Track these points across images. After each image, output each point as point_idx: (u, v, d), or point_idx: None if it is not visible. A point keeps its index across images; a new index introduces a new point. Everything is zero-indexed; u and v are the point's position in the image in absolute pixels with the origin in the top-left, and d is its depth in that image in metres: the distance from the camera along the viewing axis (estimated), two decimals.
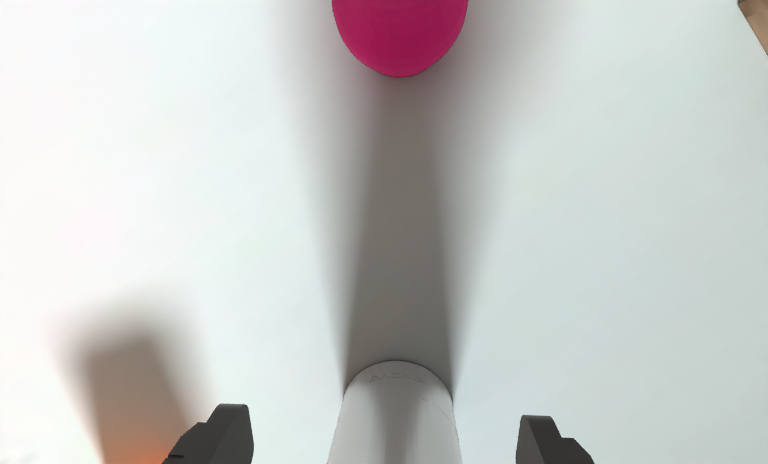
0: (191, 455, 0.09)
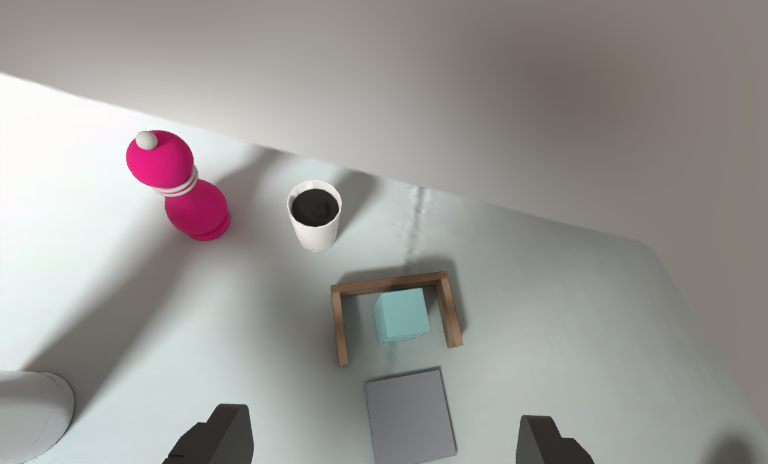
0: (191, 455, 0.09)
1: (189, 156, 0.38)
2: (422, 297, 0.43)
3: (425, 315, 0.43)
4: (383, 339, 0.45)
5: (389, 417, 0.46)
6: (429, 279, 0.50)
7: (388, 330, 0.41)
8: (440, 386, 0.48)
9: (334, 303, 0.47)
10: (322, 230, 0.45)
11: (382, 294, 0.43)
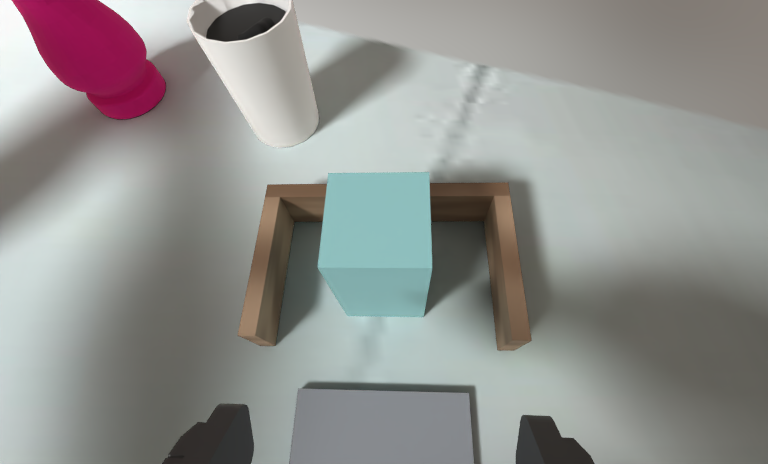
0: (191, 455, 0.09)
1: None
2: (426, 192, 0.17)
3: (427, 232, 0.16)
4: (332, 290, 0.19)
5: None
6: (468, 194, 0.24)
7: (322, 253, 0.16)
8: (466, 433, 0.20)
9: (264, 215, 0.24)
10: (247, 59, 0.23)
11: (330, 175, 0.18)
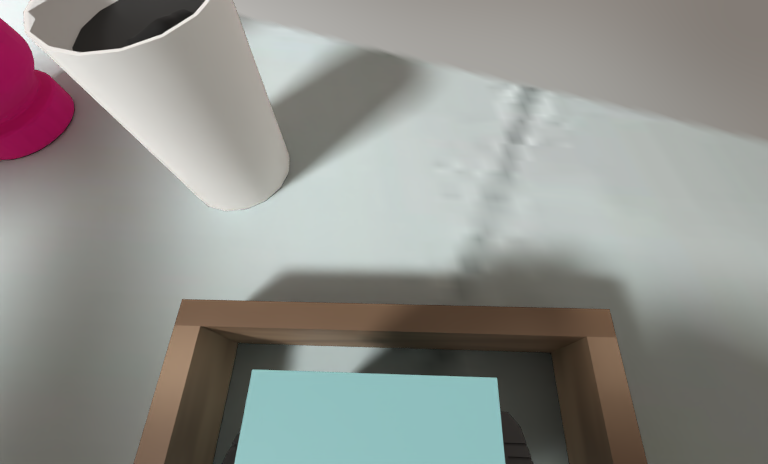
0: None
1: None
2: (494, 443, 0.07)
3: None
4: None
5: None
6: (538, 332, 0.13)
7: None
8: None
9: (167, 365, 0.13)
10: (133, 84, 0.12)
11: (257, 377, 0.07)
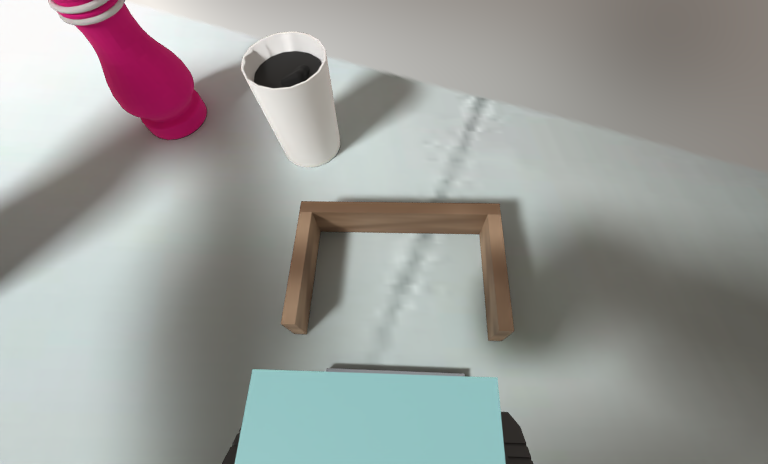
0: None
1: None
2: (495, 443, 0.07)
3: None
4: None
5: None
6: (466, 213, 0.29)
7: None
8: None
9: (299, 227, 0.29)
10: (289, 101, 0.28)
11: (257, 377, 0.08)
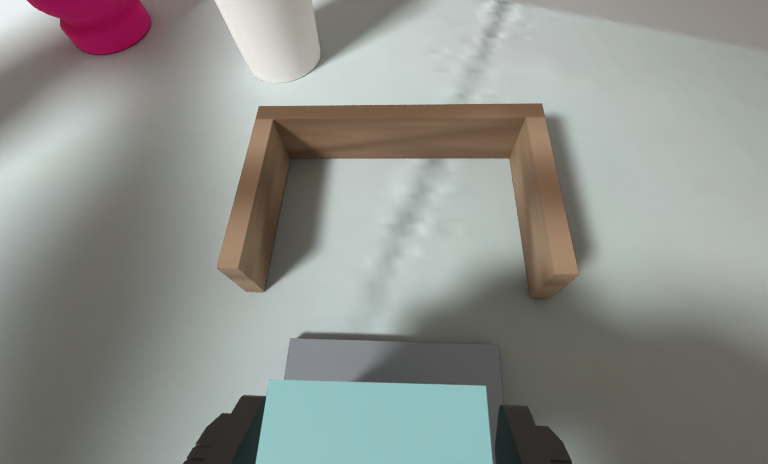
0: (219, 443, 0.09)
1: None
2: (483, 444, 0.08)
3: None
4: None
5: None
6: (495, 116, 0.20)
7: None
8: (496, 391, 0.16)
9: (253, 138, 0.20)
10: None
11: (274, 386, 0.08)
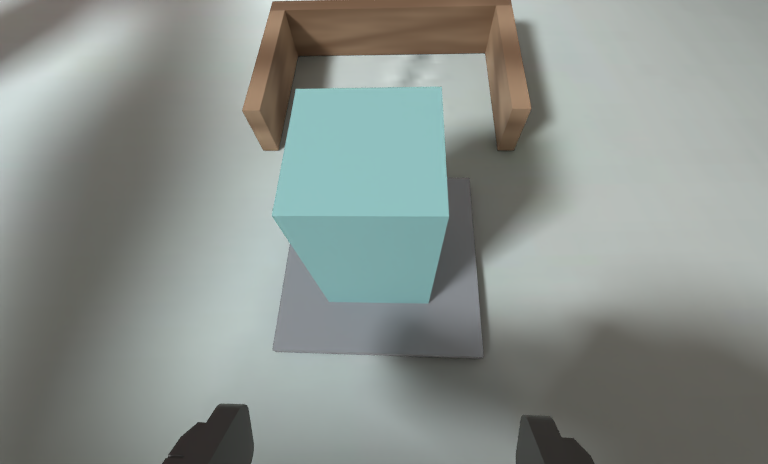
0: (191, 455, 0.09)
1: None
2: (438, 112, 0.12)
3: (440, 165, 0.11)
4: None
5: None
6: (470, 5, 0.24)
7: (279, 196, 0.11)
8: (466, 207, 0.20)
9: (268, 24, 0.24)
10: None
11: (299, 92, 0.13)
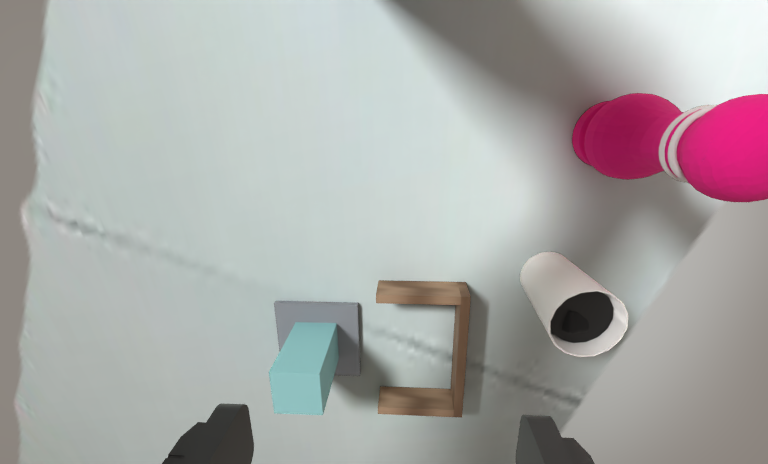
0: (191, 455, 0.09)
1: (734, 201, 0.21)
2: (311, 413, 0.37)
3: (290, 412, 0.37)
4: (281, 349, 0.39)
5: (321, 322, 0.44)
6: (455, 398, 0.43)
7: (275, 373, 0.36)
8: (343, 373, 0.46)
9: (447, 297, 0.39)
10: (544, 322, 0.33)
11: (317, 375, 0.35)
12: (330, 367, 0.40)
